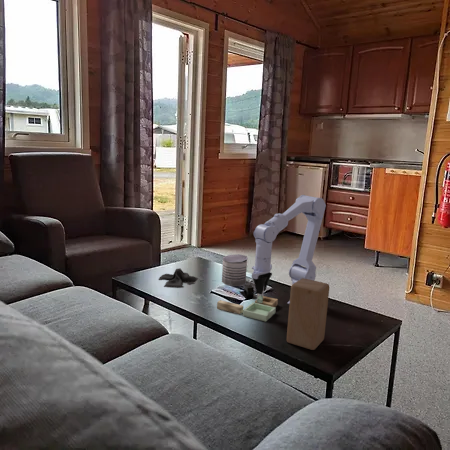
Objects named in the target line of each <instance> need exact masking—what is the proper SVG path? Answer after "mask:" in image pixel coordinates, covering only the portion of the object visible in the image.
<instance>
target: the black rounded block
mask: <svg viewBox="0 0 450 450" xmlns="http://www.w3.org/2000/svg"><path fill="white" fill-rule="evenodd" d="M243 287H244V289H243V291H239V293H240V294H241V296H242V297H243V298H244V299H245V300H257V294H255V286H253V285H252V284H245V285H244V286H243Z"/></svg>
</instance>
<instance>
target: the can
mask: <svg viewBox="0 0 450 450" xmlns="http://www.w3.org/2000/svg"><path fill="white" fill-rule="evenodd" d="M247 266H248V256H247V255H244V254H236V253H235V254H227V255H225V256H223V257H222V271H221V272H222V273H221V282H222V283H223V284H224V285H226V286H230V287H238V286H239V287H241V286H245V285H246V282H247V271H248V270H247Z"/></svg>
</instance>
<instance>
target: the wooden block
mask: <svg viewBox="0 0 450 450" xmlns="http://www.w3.org/2000/svg"><path fill="white" fill-rule="evenodd" d="M329 294H330V284H329V283H326V282H322V281H318V280H309V279H305V278H302V279H300V280H299V281H297V282H295V283H294V284H292V285H291V286H290V293H289V296H290V297H289V301H290V304H288V318H287V329H286V331H287V332H286V342H287V343H288V344H292V345H295V346H298V347H302V348H304V349H308V350H311V351H315V350H316V349H317V348H318V346H319V345H320V344H322V342H323V341H324V340H325V333H326V324H327V314H328V305H329Z"/></svg>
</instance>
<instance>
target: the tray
mask: <svg viewBox="0 0 450 450" xmlns="http://www.w3.org/2000/svg"><path fill="white" fill-rule="evenodd" d="M276 308H277V307H271V306H267V305H262V304H258V303H255V301H254V302H253V301H252V302H251V304H249V305H247V307H245V308H243V313H242V316H243V317H247V318H251V319H253V320H257V321H263V322H267V321H268V320H270V319H271V318H272V317H273V316H274V315H275V314H276V310H277V309H276Z"/></svg>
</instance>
